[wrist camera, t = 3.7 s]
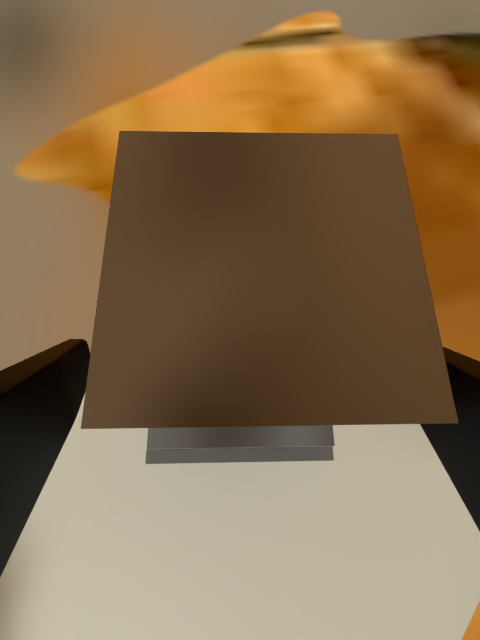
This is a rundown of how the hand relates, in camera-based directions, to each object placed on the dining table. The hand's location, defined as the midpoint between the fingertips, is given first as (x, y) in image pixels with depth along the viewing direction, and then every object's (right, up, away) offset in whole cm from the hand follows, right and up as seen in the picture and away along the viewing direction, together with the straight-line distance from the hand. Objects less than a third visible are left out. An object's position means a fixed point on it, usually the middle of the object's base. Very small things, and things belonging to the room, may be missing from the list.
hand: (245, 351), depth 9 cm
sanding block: (0, -2, +7) cm, 8 cm away
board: (0, -9, +6) cm, 11 cm away
